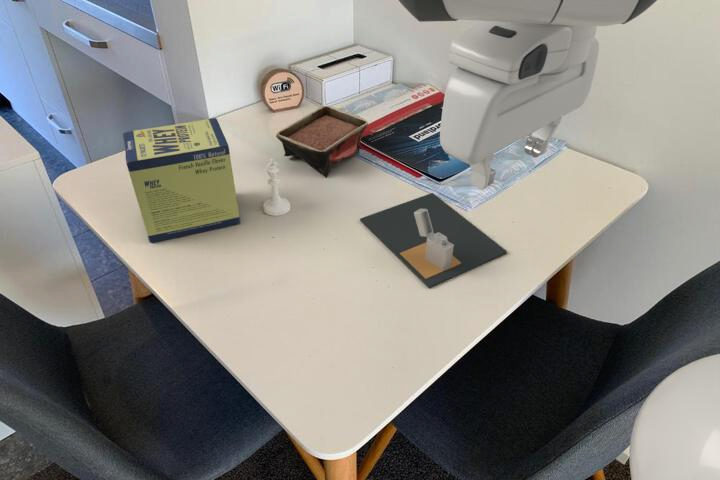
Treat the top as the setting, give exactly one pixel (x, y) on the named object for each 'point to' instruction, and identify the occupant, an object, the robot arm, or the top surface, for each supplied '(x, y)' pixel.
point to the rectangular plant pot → (323, 137)
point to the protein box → (182, 178)
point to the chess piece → (275, 194)
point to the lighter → (434, 241)
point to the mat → (410, 247)
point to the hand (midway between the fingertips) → (509, 168)
